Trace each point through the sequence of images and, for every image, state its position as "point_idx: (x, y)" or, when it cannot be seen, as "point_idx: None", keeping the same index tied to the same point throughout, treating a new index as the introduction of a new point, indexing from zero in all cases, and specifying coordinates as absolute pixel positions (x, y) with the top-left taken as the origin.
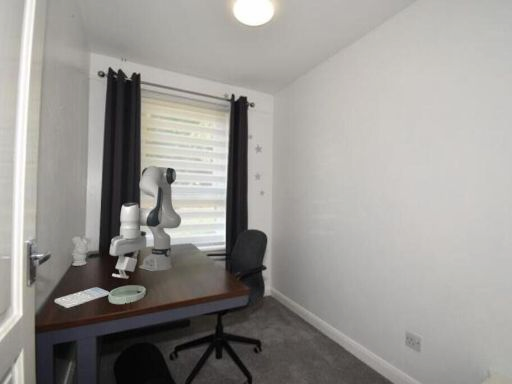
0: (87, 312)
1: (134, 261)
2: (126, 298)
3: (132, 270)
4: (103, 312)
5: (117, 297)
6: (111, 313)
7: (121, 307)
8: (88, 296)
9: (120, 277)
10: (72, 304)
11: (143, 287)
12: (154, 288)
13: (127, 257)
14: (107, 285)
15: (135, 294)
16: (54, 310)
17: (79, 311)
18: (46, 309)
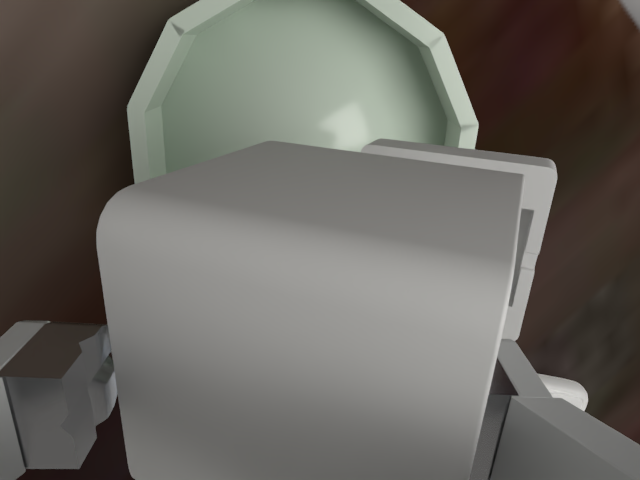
0: (630, 213)
1: (231, 192)
2: (442, 37)
3: (303, 145)
4: (614, 97)
5: (467, 129)
6: (624, 12)
7: (499, 25)
8: None
9: (543, 159)
10: (564, 387)
11: (147, 80)
12: (10, 62)
13: (495, 353)
14: None
15: (240, 111)
16: (628, 417)
17: (621, 276)
18: None
